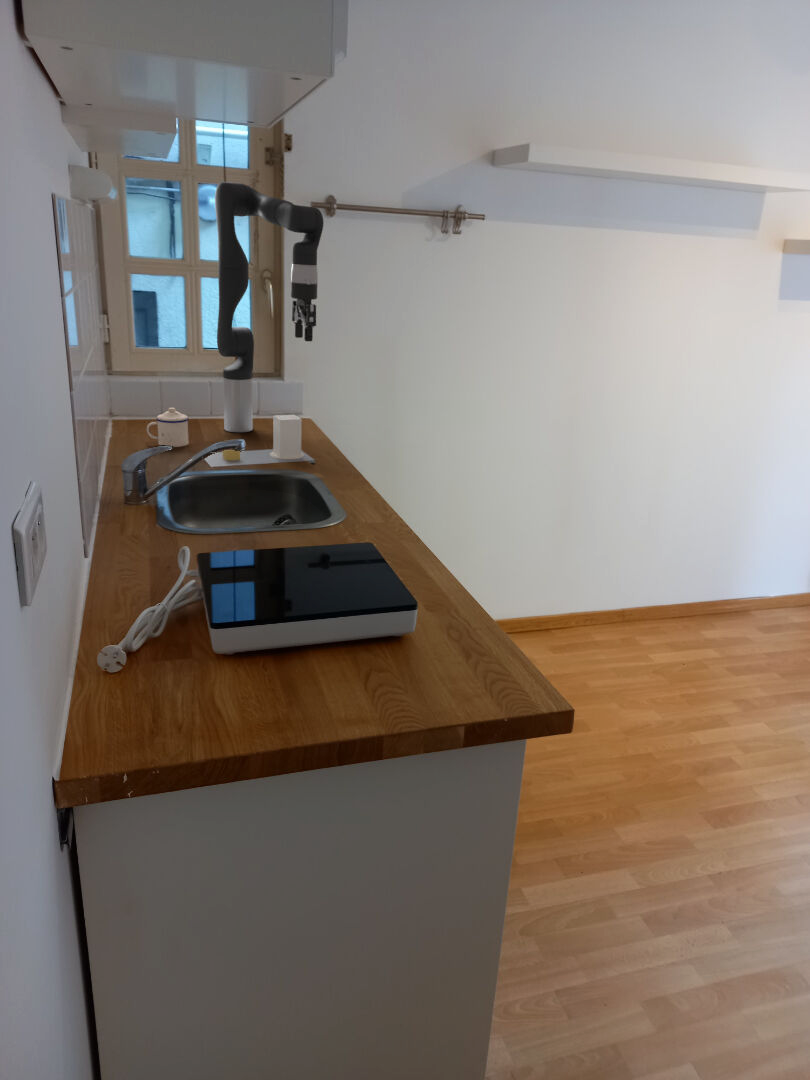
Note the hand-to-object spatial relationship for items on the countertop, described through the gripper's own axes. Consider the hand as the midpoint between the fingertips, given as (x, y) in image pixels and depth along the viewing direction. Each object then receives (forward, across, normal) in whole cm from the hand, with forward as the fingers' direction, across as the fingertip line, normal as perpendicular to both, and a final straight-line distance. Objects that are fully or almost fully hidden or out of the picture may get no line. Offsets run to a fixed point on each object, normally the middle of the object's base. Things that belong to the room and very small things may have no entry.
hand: (303, 339), depth 229 cm
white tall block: (+32, +10, -8) cm, 34 cm away
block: (+32, +10, -24) cm, 41 cm away
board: (+33, +10, -17) cm, 38 cm away
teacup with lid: (+33, -12, -38) cm, 52 cm away
